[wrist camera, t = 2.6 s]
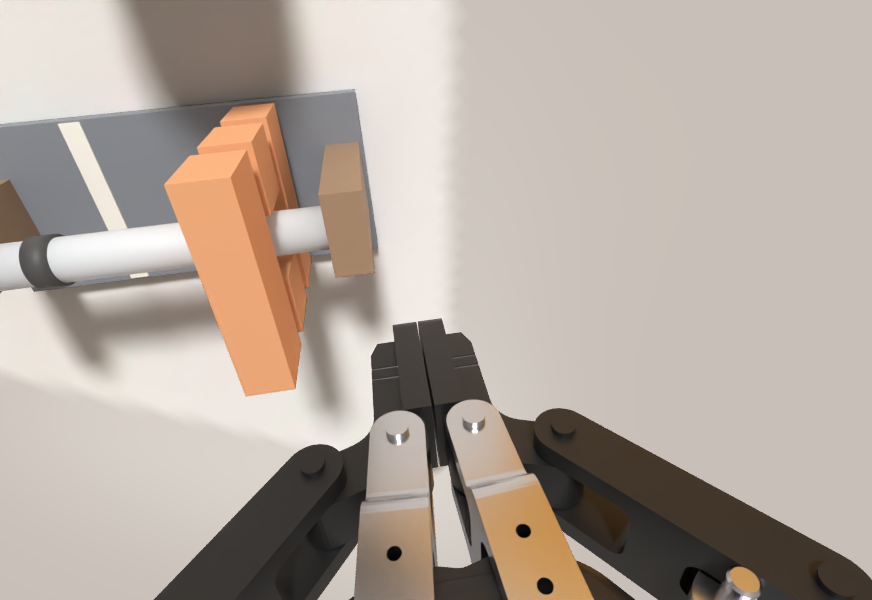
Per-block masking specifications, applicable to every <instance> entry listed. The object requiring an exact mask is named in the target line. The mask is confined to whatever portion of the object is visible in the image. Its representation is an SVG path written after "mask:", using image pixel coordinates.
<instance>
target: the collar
mask: <svg viewBox="0 0 872 600" xmlns="http://www.w3.org/2000/svg"><path fill="white" fill-rule="evenodd" d="M220 124H221V127H215V128H214V129H213V130H212V131H211V132H210V133H209V135H208V136H207V137H206V138H205V139H204V140H203V141H202V142H201V144H200V145H199V146H198V147H197V150H198V153H199V155H191V156H189V157H188V158H187V159H186V160H185V162H184V163H183V164H182V165H181V166H180V167H179V168H178V169H177V171H176V172H175V173H174V174H173V175H172V176H171V177H170V178H169V180H168V181H167V182H166V183H165V184H164V187H165V189H166V192H167V194H168V197H169V200H170V202H171V205H172V207H173V210H174V213H175V215H176V218H177V220H178V223H179V225H180V228H181V231H182V233H183V236H184V238H185V241H186V243H187V246H188V249H189V251H190V254H191V256H192V259H193V262H194V264H195V267H196V269H197V272H198V274H199V277H200V280H201V282H202V285H203V287H204V290H205V292H206V295H207V298H208V300H209V303H210V305H211V308H212V311H213V313H214V316H215V318H216V321H217V323H218V326H219V329H220V331H221V334H222V336H223V339H224V341H225V344H226V347H227V349H228V352H229V354H230V357H231V360H232V362H233V365H234V367H235V370H236V372H237V375H238V378H239V380H240V383H241V385H242V388H243V390H244V393H245V396H252V395H259V394H265V393H272V392H279V391H285V390H292V389H295V388H296V380H297V372H298V365H299V357H300V349H301V342H300V338H299V335H298V332H301V331H303V325H304V317H305V310H306V302H307V296H306V292H305V288H308V286H309V278H310V270H311V262H312V261H311V257H310V253H309V252H305V253H297V254H289V255H281V256H276V252H275V249H274V245H273V242H272V238H271V234H270V231H269V227H268V224H267V220H266V216H270V215H272V212H273V211H280V210H288V209H297V208H299V206H298V202H297V197H296V193H295V189H294V185H293V180H292V176H291V172H290V168H289V163H288V159H287V155H286V151H285V147H284V142H283V138H282V134H281V130H280V125H279V121H278V117H277V113H276V108H275V104H274V103H268V104H258V105H248V106H238V107H232V109H231V110H230V111H229V112H228V113H227V114H226V115H225V116H224V118H223V119H222V120H221V121H220Z"/></svg>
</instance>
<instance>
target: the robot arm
mask: <svg viewBox="0 0 872 600" xmlns="http://www.w3.org/2000/svg"><path fill="white" fill-rule="evenodd" d="M418 328H419V334H418V329H417V324H416V322H412V323H405V324H398V325H393V332H394V341H395V342H389V343H382V344H377V346H376V348H375V350H374V352H373V353H372V355H371V366H372V386H373V407H374V423H373V425H372V427H371V430H370V432H369V434H368V435H367V436H366V437H365V438H364V439H363V440H361V441H360V442H358V443H357V444H355V445H353V446H351V447H349V448H346V449H344V450H342V451H340V452H339V451H338V450H337V449H335V448H334V447H332V446H329V445H324V444H318V445H312V446H308V447H306V448H303V449H302V450H300V451H298V452H297V453H295V454H294V455H293V456H292V457H291V458H290V459H289V460H288V461H287V462H286V463H285V464H284V465H283V466H282V467H281V468H280V469H279V471H278V472H277V473H276V474H275V475H274V476H273V477H272V478H271V479H270V480H269V481H268V482H267V483H266V484H265V485H264V486H263V487H262V488H261V489H260V490H259V491H258V492H257V493H256V494H255V495H254V496H253V498H252V499H251V500H250V501H249V502H248V503H247V504H246V505H245V506H244V507H243V508H242V509H241V510H240V511H239V512H238V513H237V514H236V515H235V516H234V517H233V518H232V519H231V521H229V522H228V523H227V524H226V525H225V526H224V527H223V529H222V530H221V531H220V532H219V533H218V534H217V535H216V536H215V537H214V538H213V539H212V540H211V541H210V542H209V543H208V544H207V545H206V546H205V547H204V548H203V549H202V550H201V551H200V552H199V553H198V554H197V555H196V557H195V558H194V559H193V560H192V561H191V562H190V563H189V564H188V565H187V566H186V567H185V568H184V569H183V570H182V571H181V572H180V573H179V574H178V575H177V576H176V577H175V578H174V579H173V581H171V582H170V583H169V584H168V586H167V587H166V588H165V589H164V590H163V591H162V592H161V593H160V594H159V595H158V596H157V597H156V598H155V599H154V600H317V599H318V598H319V596H320V595H321V594H322V592H323V591H324V590H325V588H326V587H327V585H328V584H329V582H330V581H331V580H332V578H333V577H334V576H335V574H336V573H337V571H338V570H339V568H340V567H341V566H342V564H343V563H344V562H345V560H346V558H347V557H348V556H349V555H350V553H351V552H352V550H353V549H354V548H355V546H356V544H357V543H358V548H357V563H356V577H355V591H354V597H352V598H351V599H350V600H635V599H634V598H632V597H631V596H630V595H628V594H627V593H626V592H624V591H623V590H622V589H621V588H620V587H618V586H617V585H616V584H614V583H613V582H612V581H611V580H609V579H608V578H607V577H605V576H604V575H603V574H601V573H599V572H598V571H596V570H595V569H593V568H591V567H590V566H587V565H585V564H583V563H581V562H579V561H576V560H575V558H574V556H573V554H572V551H571V550H570V547H569V545H568V543H567V541H566V539H565V537H564V534H563V532H564V533H566V534H567V535H569V536H570V537H572V538H573V539H574V540H576V541H577V542H578V543H580V544H581V545H583V546H584V547H585V548H587V549H588V550H589V551H591V552H592V553H594V554H595V555H596V556H598V557H599V558H601V559H602V560H603V561H605V562H606V563H608V564H609V565H610V566H612V567H613V568H615V569H616V570H617V571H619V572H620V573H622V574H623V575H625V576H626V577H627V578H629V579H630V580H631V581H633V582H634V583H636V584H637V585H638V586H640V587H641V588H643V589H644V590H645V591H647V592H648V593H650V594H651V595H652V596H654V597H655V598H657V599H658V600H872V580H871V578H870V577H869V576H868V575H867V574H866V573H865V572H864V571H863V570H862V569H861V568H859V567H858V566H857V565H856V564H854V563H853V562H852V561H850V560H849V559H847V558H845V557H844V556H842V555H840V554H838V553H836V552H835V551H832V550H831V549H829V548H827V547H825V546H823V545H821V544H820V543H818V542H816V541H814V540H812V539H810V538H808V537H807V536H805V535H803V534H801V533H799V532H797V531H795V530H794V529H792V528H790V527H788V526H786V525H784V524H783V523H781V522H779V521H777V520H775V519H773V518H771V517H769V516H767V515H766V514H764V513H762V512H760V511H758V510H756V509H755V508H753V507H751V506H749V505H747V504H745V503H744V502H742V501H740V500H738V499H736V498H734V497H733V496H731V495H729V494H727V493H725V492H723V491H721V490H720V489H718V488H716V487H714V486H712V485H710V484H708V483H706V482H705V481H703V480H701V479H699V478H697V477H695V476H694V475H692V474H690V473H688V472H686V471H684V470H682V469H680V468H679V467H676V466H675V465H673V464H671V463H669V462H668V461H666V460H664V459H662V458H660V457H658V456H656V455H655V454H653V453H651V452H649V451H647V450H645V449H643V448H642V447H640V446H638V445H636V444H634V443H632V442H630V441H628V440H627V439H625V438H623V437H621V436H619V435H617V434H616V433H614V432H612V431H610V430H608V429H606V428H604V427H602V426H601V425H599V424H597V423H595V422H593V421H591V420H589V419H588V418H586V417H584V416H582V415H580V414H578V413H576V412H574V411H572V410H568V409H561V408H557V409H550V410H547V411H545V412H543V413H541V414H540V415H539V416H538V417H537V419H536V421H527V420H518V419H513V418H510V417H508V416H505V415H503V414H502V413H500V412H499V411H498V410H497V409H496V408H495V407H494V406H493V405H492V403H491V401H490V398H489V395H488V392H487V389H486V386H485V383H484V380H483V377H482V374H481V371H480V368H479V366H478V362H477V359H476V356H475V353H474V350H473V346H472V343H471V342H470V340H468V339H467V338H466V337H465V336H464V335H463V334H462V333H461V332H460V333H452V334H446V333H445V329H444V325H443V322H442V319H433V320H426V321H419V322H418ZM419 338H420V340H419ZM435 440H436V444H435ZM436 446H437V451H438V457H439V462H440V466H447V465H448V466H449V471H450V476H451V487H452V493H453V497H454V501H455V504H456V508H457V511H458V515H459V518H460V522H461V525H462V529H463V532H464V536H465V539H466V543H467V546H468V550H469V553H470V557H471V562H472V564H471V565H469V566H467V567H464V568H448V567H438V566H437V553H436V537H435V523H434V510H433V509H434V508H433V495H432V491H433V487H434V481H433V472H432V468H435V467H438V464H437V454H436ZM562 531H563V532H562Z"/></svg>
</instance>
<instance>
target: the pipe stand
mask: <svg viewBox="0 0 872 600" xmlns="http://www.w3.org/2000/svg"><path fill="white" fill-rule="evenodd" d="M268 103H274V104H275V108H276V113H277V117H278V121H279V125H280V130H281V134H282V138H283V142H284V147H285V151H286V155H287V159H288V163H289V168H290V172H291V176H292V180H293V185H294V189H295V193H296V197H297V202H298V206H299V208H297V209H288V210H280V211H273V212H272V215H270V216H266V220H267V224H268V227H269V231H270V234H271V238H272V242H273V245H274V249H275V252H276V256H281V255H289V254H297V253H305V252H309V253H310V256H317V255H325V254H331V259H332V264H333V268H334V273H335V278H339V277H347V276H354V275H362V274H369V273H375V272H374V261H373V250H372V248H378V244H377V237H376V230H375V223H374V216H373V210H372V203H371V196H370V189H369V182H368V176H367V169H366V162H365V155H364V149H363V142H362V135H361V128H360V121H359V115H358V108H357V101H356V94H355V89H352V90H341V91H331V92H321V93H311V94H301V95H291V96H281V97H271V98H261V99H251V100H241V101H231V102H220V103H210V104H200V105H190V106H180V107H170V108H160V109H150V110H140V111H130V112H120V113H110V114H99V115H89V116H79V117H69V118H59V119H49V120H39V121H29V122H19V123H9V124H0V293H1V292H2V291H5V290H13V289H21V288H29V287H31V288H32V289H33V291H34V292H35V291H43V290H51V289H59V288H66V287H74V286H82V285H90V284H98V283H105V282H113V281H121V280H129V279H137V278H145V277H152V276H160V275H168V274H176V273H184V272H192V271H197V269H196V267H195V264H194V262H193V259H192V256H191V254H190V251H189V249H188V246H187V243H186V241H185V238H184V236H183V233H182V231H181V228H180V225H179V223H178V220H177V218H176V215H175V213H174V210H173V207H172V205H171V202H170V200H169V197H168V194H167V192H166V189H165V187H164V184H165V183H166V182H167V181H168V180H169V178H170V177H171V176H172V175H173V174H174V173H175V172H176V171H177V169H178V168H179V167H180V166H181V165H182V164H183V163H184V162H185V160H186V159H187V158H188V157H189V156H191V155H199V153H198V150H197V147H198V146H199V145H200V144H201V142H202V141H203V140H204V139H205V138H206V137H207V136H208V135H209V133H210V132H211V131H212V130H213V129H214V128H215V127H221V124H220V121H221V120H222V119H223V118H224V116H225V115H226V114H227V113H228V112H229V111H230V110H231V109H232V107H238V106H248V105H258V104H268Z"/></svg>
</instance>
